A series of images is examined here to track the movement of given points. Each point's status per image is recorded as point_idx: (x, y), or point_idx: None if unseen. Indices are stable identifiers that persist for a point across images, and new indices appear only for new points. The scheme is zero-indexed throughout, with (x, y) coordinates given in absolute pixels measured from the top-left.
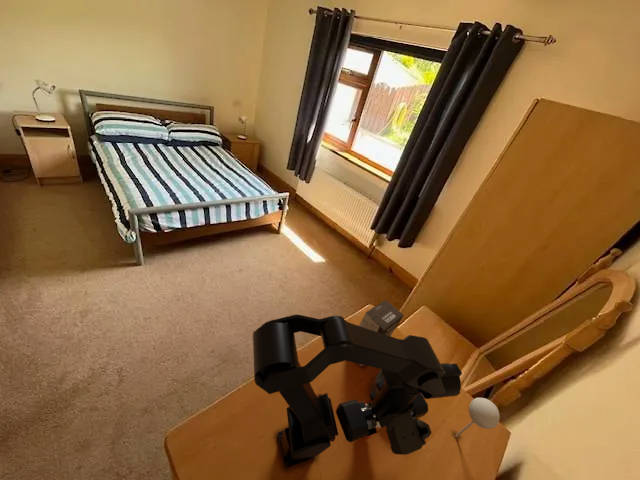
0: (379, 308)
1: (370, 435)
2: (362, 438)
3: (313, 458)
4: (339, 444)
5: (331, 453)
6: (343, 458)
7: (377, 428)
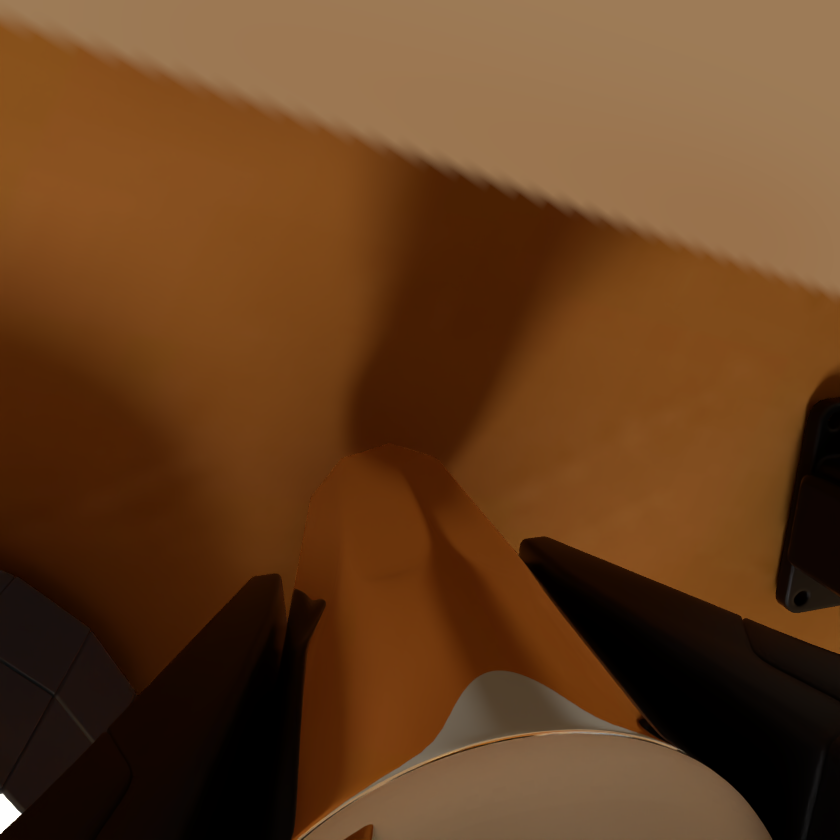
0: None
1: (431, 494)
2: (442, 465)
3: (828, 398)
4: (598, 449)
5: (684, 402)
6: (613, 347)
7: (584, 684)
